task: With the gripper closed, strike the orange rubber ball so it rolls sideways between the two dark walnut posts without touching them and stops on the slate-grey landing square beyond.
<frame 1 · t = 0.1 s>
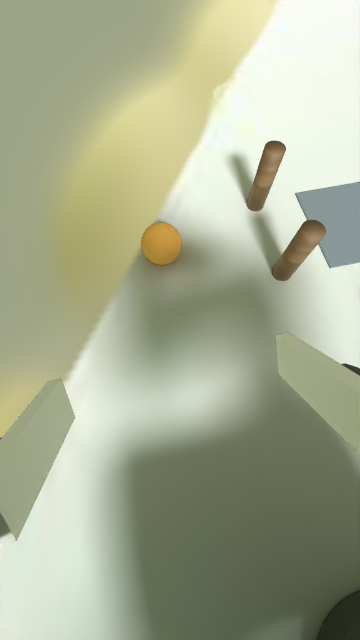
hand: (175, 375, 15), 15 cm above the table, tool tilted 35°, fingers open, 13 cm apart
post 1: (281, 272, 34), on the table
ball: (161, 244, 33), on the table
post 2: (254, 204, 38), on the table
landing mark: (354, 220, 37), on the table
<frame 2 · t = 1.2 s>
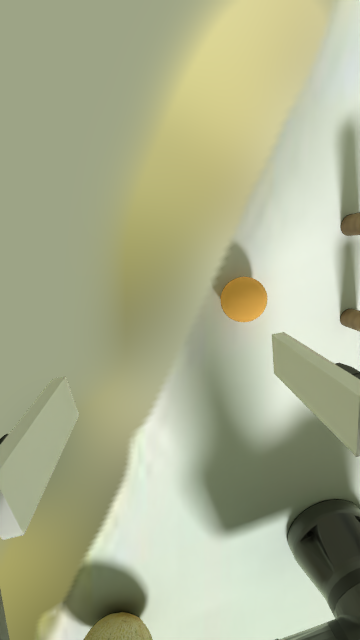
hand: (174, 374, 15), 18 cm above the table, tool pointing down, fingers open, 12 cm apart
post 1: (348, 317, 34), on the table
ball: (243, 299, 29), on the table
post 2: (350, 225, 31), on the table
cantaloupe: (119, 615, 46), on the table
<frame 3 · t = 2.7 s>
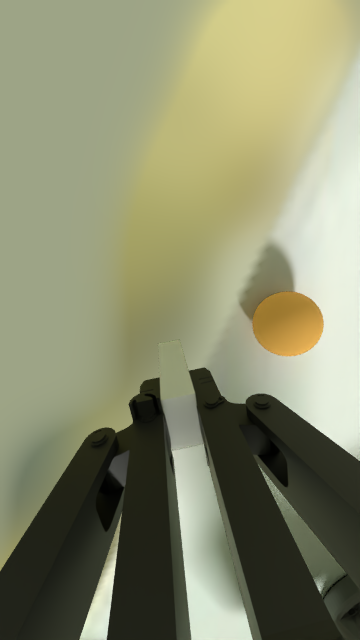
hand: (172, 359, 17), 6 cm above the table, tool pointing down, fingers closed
ball: (286, 323, 20), on the table
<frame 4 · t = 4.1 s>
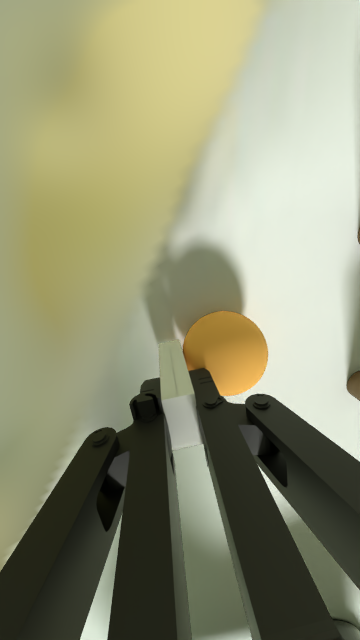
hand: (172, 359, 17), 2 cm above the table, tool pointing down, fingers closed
ball: (223, 352, 16), on the table, touching gripper
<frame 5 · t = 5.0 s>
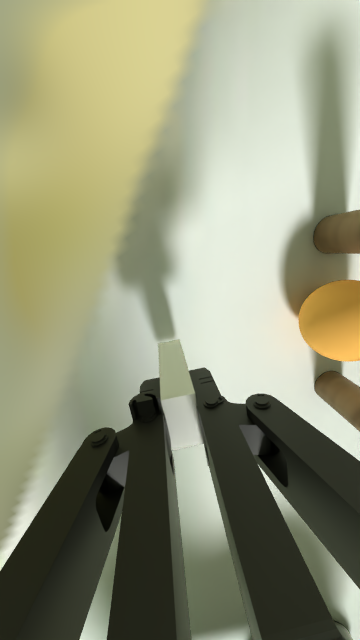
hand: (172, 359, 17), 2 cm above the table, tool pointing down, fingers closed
post 1: (328, 384, 21), on the table
ball: (343, 320, 16), on the table
post 2: (330, 234, 17), on the table
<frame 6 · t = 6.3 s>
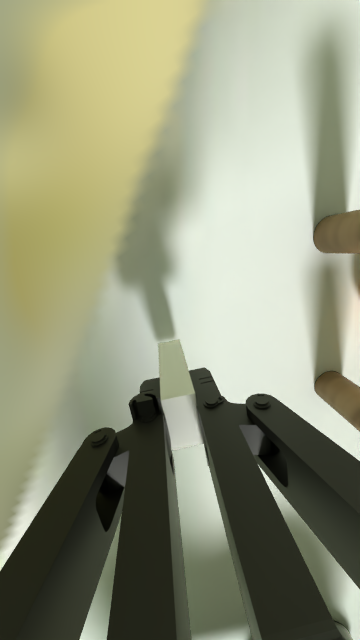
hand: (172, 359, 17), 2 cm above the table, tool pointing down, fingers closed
post 1: (328, 384, 21), on the table
post 2: (330, 234, 17), on the table
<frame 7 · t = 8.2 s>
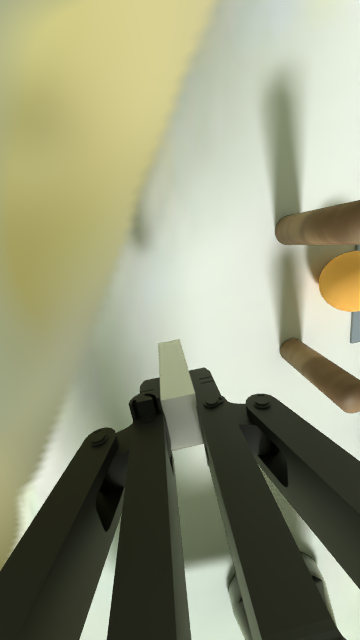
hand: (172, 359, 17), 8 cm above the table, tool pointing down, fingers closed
post 1: (291, 349, 27), on the table
ball: (353, 281, 22), on the table
post 2: (288, 230, 23), on the table
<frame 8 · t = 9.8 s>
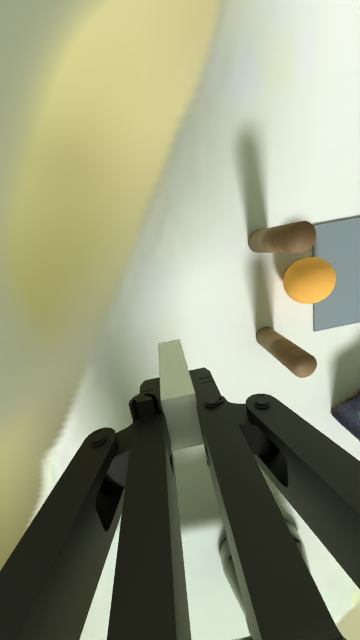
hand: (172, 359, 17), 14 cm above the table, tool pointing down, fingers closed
post 1: (265, 336, 33), on the table
flask: (355, 398, 38), on the table
ball: (308, 280, 28), on the table
post 2: (258, 241, 29), on the table
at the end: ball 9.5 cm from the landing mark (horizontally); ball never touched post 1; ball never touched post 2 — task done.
